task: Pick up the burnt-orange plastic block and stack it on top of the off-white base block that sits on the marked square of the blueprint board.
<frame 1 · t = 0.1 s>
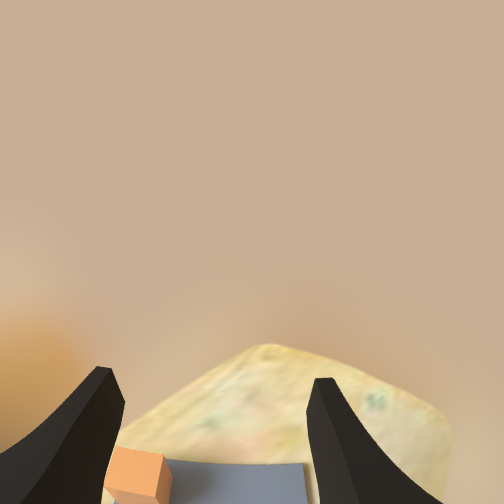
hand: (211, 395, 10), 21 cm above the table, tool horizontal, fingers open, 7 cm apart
orange block: (147, 492, 22), point 1 cm above the table, touching blueprint board
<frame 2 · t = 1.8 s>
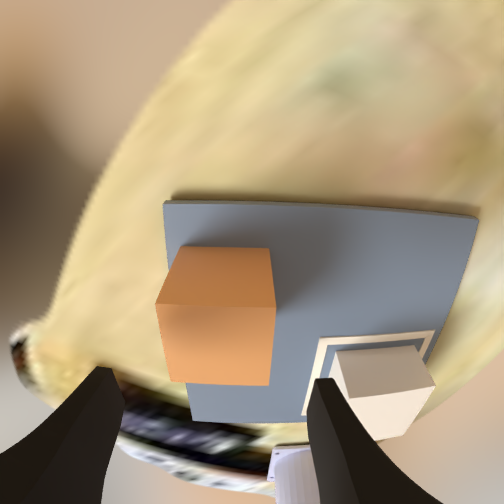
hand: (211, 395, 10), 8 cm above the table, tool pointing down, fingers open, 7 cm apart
blueprint board: (320, 340, 19), on the table
base block: (366, 377, 20), point 1 cm above the table, touching blueprint board
orange block: (224, 285, 17), point 1 cm above the table, touching blueprint board
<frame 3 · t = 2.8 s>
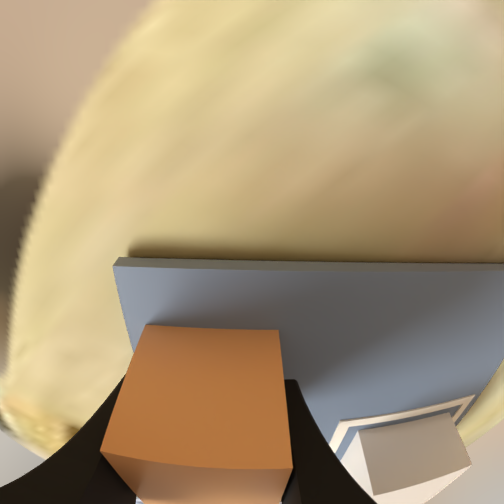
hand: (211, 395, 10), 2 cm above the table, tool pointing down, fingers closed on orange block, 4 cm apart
blueprint board: (339, 418, 14), on the table
base block: (389, 447, 15), point 1 cm above the table, touching blueprint board
orange block: (213, 372, 11), point 1 cm above the table, touching blueprint board, gripper
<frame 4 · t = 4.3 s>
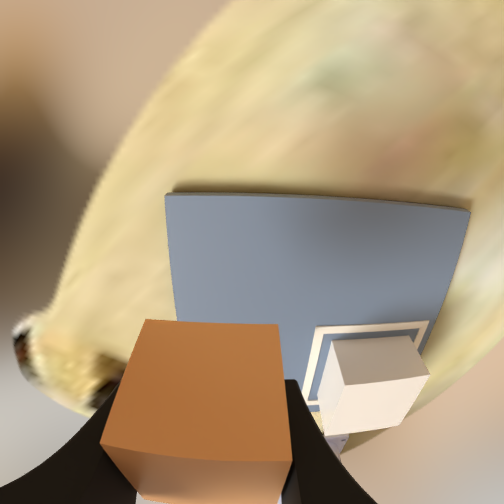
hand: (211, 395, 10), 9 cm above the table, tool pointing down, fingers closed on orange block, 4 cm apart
blueprint board: (316, 329, 20), on the table
base block: (362, 367, 21), point 1 cm above the table, touching blueprint board
orange block: (213, 367, 11), point 8 cm above the table, touching gripper
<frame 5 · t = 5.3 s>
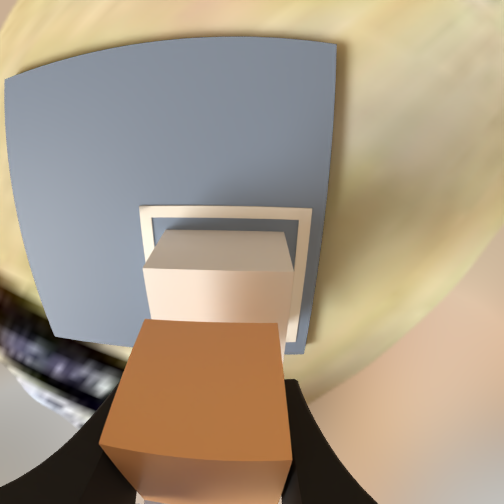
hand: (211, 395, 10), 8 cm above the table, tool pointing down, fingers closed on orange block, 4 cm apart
blueprint board: (149, 216, 16), on the table
base block: (224, 281, 17), point 1 cm above the table, touching blueprint board
orange block: (213, 367, 11), point 7 cm above the table, touching gripper
when the fingers open (7 cm above the table, at t = 6.0 s): orange block stays where it is, resting on base block.
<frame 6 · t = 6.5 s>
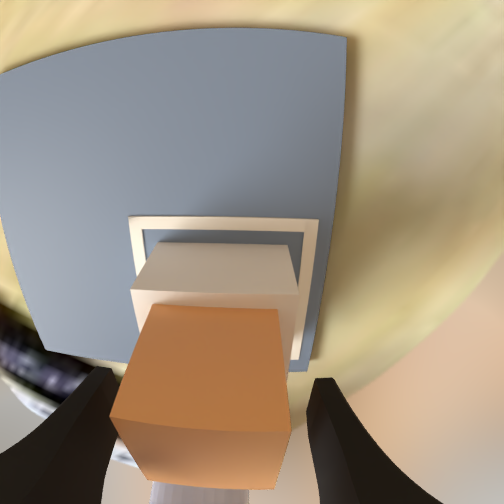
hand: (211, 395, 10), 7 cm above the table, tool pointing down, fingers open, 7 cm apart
blueprint board: (140, 227, 14), on the table
base block: (222, 298, 16), point 1 cm above the table, touching blueprint board, orange block
orange block: (215, 352, 12), point 5 cm above the table, touching base block
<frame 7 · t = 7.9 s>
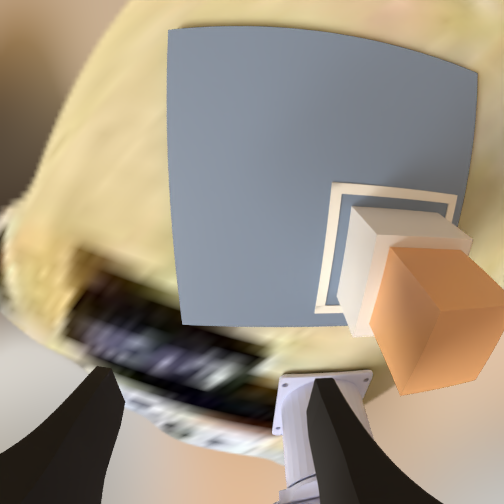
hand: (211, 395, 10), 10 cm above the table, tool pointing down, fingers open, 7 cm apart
blueprint board: (332, 193, 17), on the table
base block: (388, 254, 18), point 1 cm above the table, touching blueprint board, orange block
orange block: (416, 287, 15), point 5 cm above the table, touching base block
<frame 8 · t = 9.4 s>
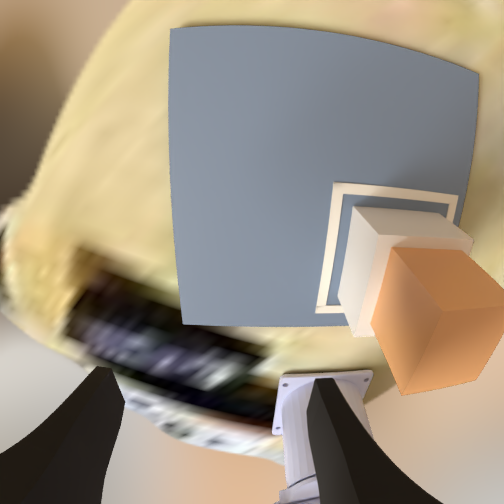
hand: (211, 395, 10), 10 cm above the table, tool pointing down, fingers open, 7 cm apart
blueprint board: (334, 193, 17), on the table
base block: (389, 255, 18), point 1 cm above the table, touching blueprint board, orange block
orange block: (417, 287, 15), point 5 cm above the table, touching base block
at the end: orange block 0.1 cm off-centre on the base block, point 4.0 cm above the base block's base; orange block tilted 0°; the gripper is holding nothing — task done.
